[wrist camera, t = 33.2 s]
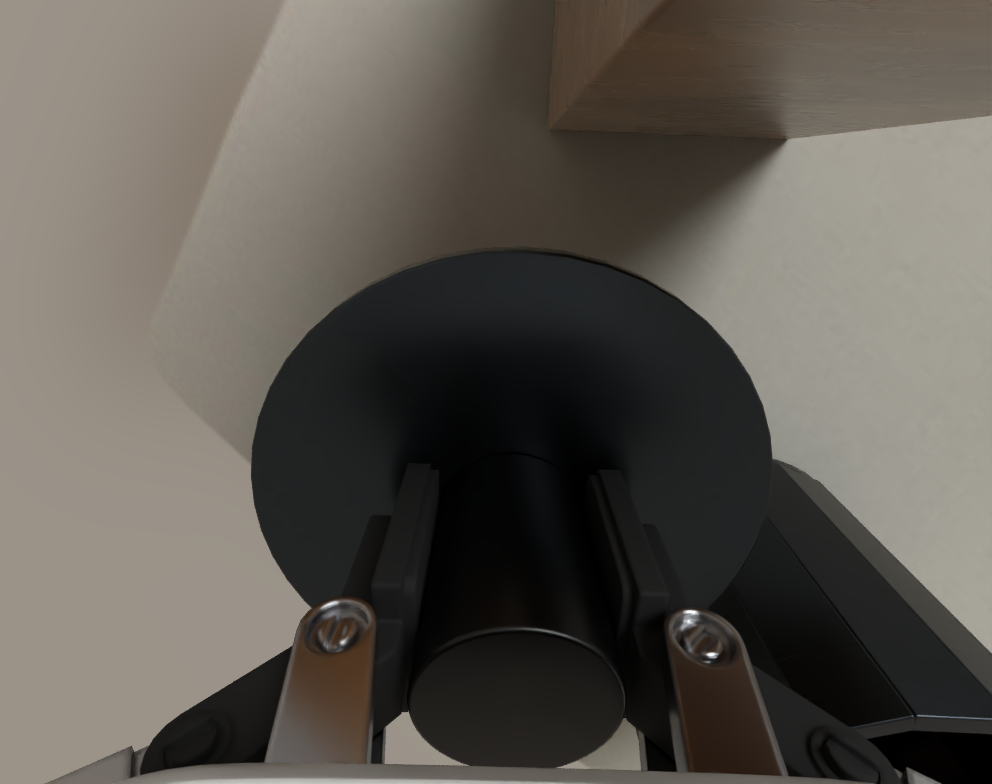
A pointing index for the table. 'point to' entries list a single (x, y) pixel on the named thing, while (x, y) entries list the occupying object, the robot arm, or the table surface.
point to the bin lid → (513, 475)
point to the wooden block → (768, 65)
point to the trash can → (861, 635)
